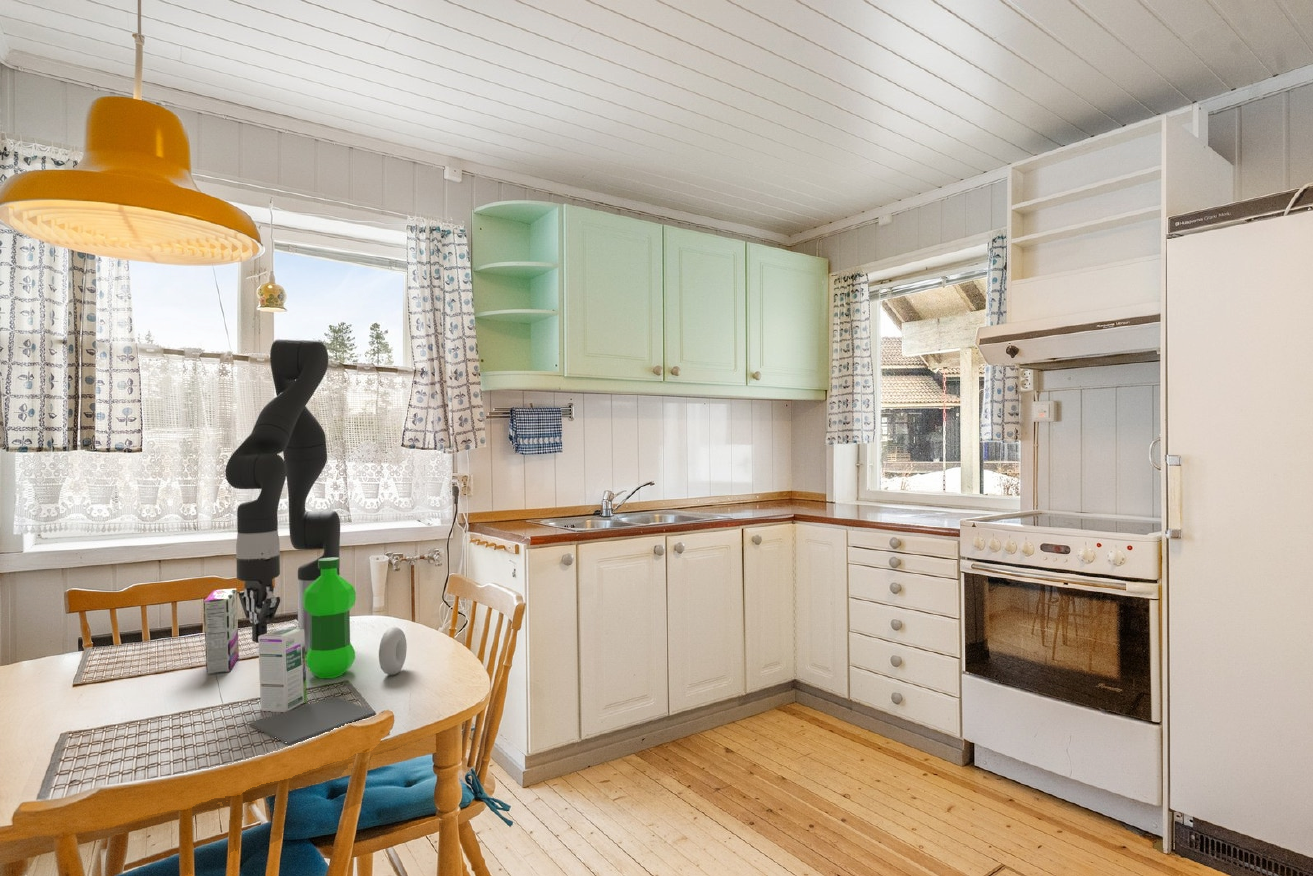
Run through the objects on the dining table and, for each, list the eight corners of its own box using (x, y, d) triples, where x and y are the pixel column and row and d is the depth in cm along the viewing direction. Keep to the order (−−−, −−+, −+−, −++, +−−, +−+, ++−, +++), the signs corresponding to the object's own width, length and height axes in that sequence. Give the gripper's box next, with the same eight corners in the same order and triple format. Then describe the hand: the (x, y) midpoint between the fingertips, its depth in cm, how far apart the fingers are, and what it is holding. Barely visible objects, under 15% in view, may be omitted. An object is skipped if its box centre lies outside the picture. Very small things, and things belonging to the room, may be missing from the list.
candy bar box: (214, 660, 167) (213, 589, 166) (239, 657, 169) (237, 587, 168) (204, 675, 156) (202, 600, 156) (230, 672, 158) (229, 597, 158)
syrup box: (286, 713, 134) (285, 636, 134) (259, 711, 136) (257, 634, 135) (307, 702, 140) (305, 627, 140) (280, 700, 141) (279, 626, 141)
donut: (394, 666, 161) (393, 621, 161) (409, 666, 161) (408, 621, 161) (376, 682, 151) (375, 634, 151) (392, 682, 151) (392, 634, 151)
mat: (249, 725, 129) (249, 723, 129) (334, 698, 142) (334, 696, 142) (288, 745, 121) (288, 742, 121) (375, 714, 133) (375, 711, 133)
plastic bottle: (364, 666, 161) (362, 554, 161) (342, 683, 150) (340, 563, 150) (320, 666, 161) (318, 555, 161) (295, 683, 151) (292, 563, 150)
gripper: (223, 553, 144) (224, 640, 144) (253, 560, 136) (255, 652, 136) (262, 548, 150) (263, 631, 150) (293, 554, 142) (295, 642, 142)
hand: (259, 641), depth 143 cm, fingers closed
